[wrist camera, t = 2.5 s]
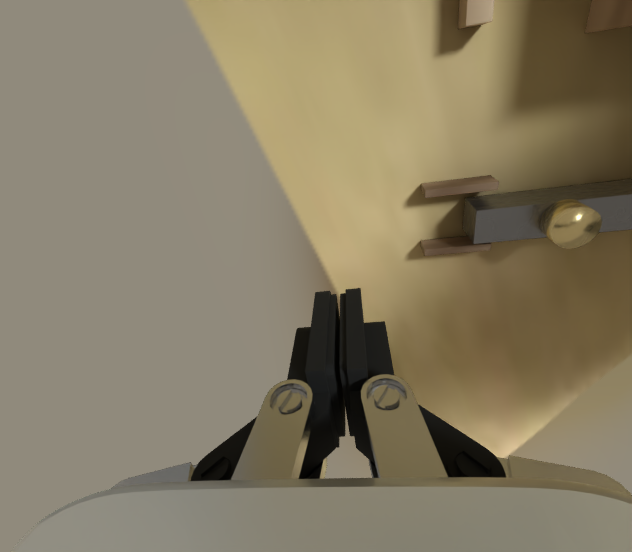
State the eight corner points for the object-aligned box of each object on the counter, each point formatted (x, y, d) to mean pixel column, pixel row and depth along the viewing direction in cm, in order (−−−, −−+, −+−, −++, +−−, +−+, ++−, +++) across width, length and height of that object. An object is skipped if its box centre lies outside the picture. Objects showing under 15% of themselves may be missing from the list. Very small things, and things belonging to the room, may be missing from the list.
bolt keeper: (490, 175, 18) (499, 181, 17) (483, 240, 20) (490, 250, 19) (421, 183, 18) (425, 190, 17) (420, 246, 20) (424, 256, 19)
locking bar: (726, 166, 16) (801, 185, 14) (708, 205, 17) (775, 231, 15) (464, 195, 18) (485, 218, 15) (462, 230, 19) (481, 256, 16)
